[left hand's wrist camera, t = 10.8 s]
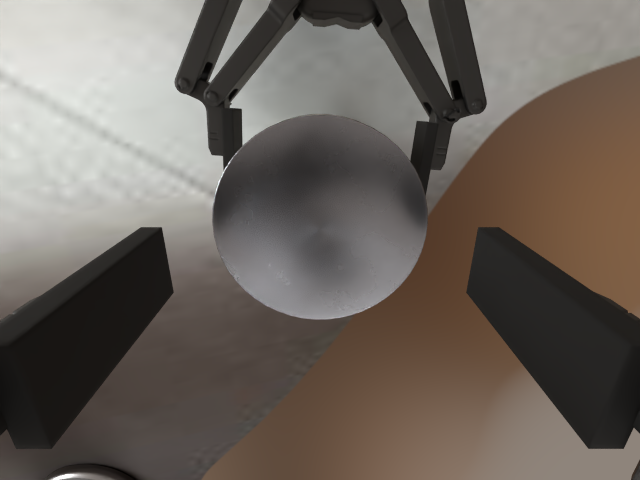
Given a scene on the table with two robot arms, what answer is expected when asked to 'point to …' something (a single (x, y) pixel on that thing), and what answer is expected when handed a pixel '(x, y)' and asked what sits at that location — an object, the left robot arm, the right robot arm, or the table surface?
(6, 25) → the table surface
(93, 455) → the table surface
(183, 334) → the table surface
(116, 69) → the table surface
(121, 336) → the left robot arm
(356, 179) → the lid
